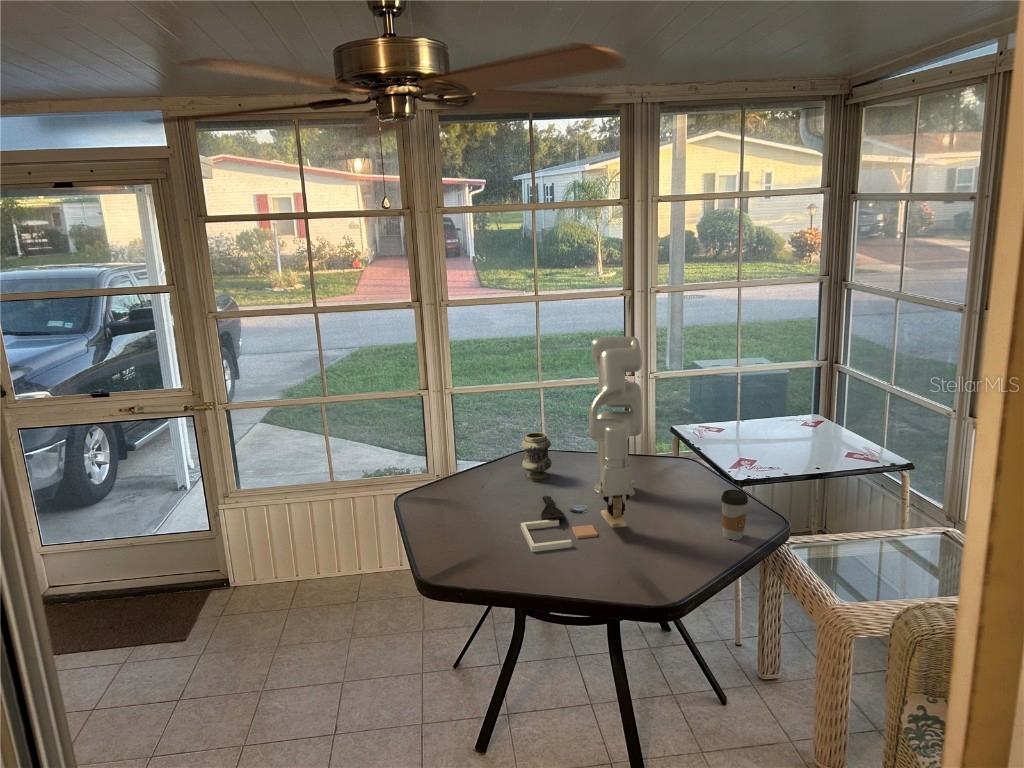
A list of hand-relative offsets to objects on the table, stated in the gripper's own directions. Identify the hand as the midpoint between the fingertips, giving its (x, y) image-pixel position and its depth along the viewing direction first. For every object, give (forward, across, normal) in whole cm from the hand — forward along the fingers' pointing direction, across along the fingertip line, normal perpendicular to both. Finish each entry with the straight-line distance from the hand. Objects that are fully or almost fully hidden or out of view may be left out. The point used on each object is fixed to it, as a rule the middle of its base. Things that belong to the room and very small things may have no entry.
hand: (616, 513), depth 238 cm
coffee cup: (+6, -35, +14) cm, 39 cm away
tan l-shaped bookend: (+2, 0, 0) cm, 2 cm away
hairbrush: (+6, +18, -20) cm, 28 cm away
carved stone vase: (+5, +15, -56) cm, 58 cm away
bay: (+6, +24, -1) cm, 25 cm away
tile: (+7, +11, -1) cm, 13 cm away
